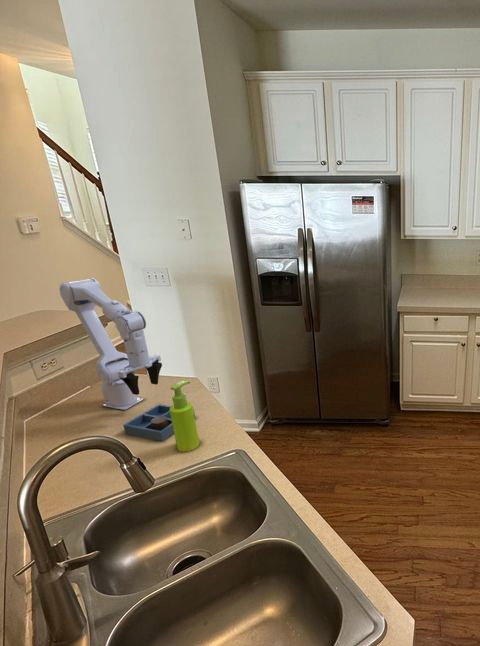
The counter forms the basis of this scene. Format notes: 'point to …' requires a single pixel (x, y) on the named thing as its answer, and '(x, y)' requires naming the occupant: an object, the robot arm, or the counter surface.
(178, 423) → the soap dispenser
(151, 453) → the counter surface
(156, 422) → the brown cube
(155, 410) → the grid
